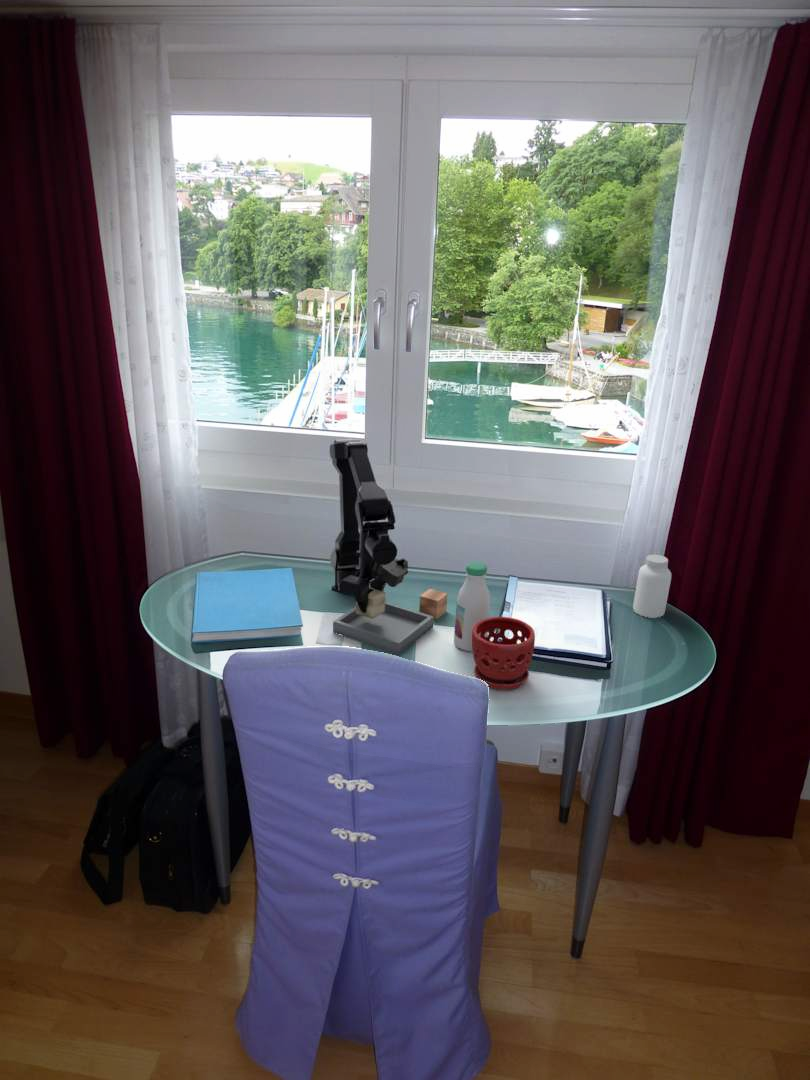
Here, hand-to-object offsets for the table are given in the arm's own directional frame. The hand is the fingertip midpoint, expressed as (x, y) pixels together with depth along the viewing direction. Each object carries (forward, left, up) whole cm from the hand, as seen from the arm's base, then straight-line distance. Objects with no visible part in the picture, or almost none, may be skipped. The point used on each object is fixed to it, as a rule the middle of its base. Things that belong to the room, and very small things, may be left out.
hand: (369, 608), depth 194 cm
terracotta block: (+9, +15, -5) cm, 18 cm away
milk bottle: (+24, +6, -5) cm, 25 cm away
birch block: (0, 0, -1) cm, 1 cm away
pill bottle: (+54, +48, -5) cm, 72 cm away
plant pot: (+36, -4, -5) cm, 37 cm away
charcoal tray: (+4, 0, -5) cm, 6 cm away
